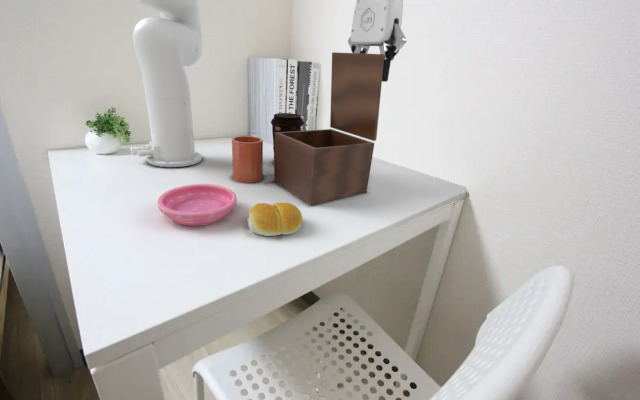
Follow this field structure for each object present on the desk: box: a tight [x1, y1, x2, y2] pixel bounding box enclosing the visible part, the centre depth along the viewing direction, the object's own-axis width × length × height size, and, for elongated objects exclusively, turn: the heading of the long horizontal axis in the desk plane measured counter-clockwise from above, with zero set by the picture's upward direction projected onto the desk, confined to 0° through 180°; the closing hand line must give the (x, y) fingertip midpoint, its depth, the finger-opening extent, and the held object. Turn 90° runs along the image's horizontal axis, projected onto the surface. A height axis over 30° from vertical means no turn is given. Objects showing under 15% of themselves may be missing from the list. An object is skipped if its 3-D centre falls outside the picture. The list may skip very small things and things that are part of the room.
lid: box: [329, 51, 384, 142], centre depth 67 cm, size 16×15×5 cm
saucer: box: [157, 183, 238, 227], centre depth 53 cm, size 12×12×3 cm
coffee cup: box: [270, 112, 305, 159], centre depth 81 cm, size 9×8×13 cm
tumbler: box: [231, 135, 264, 184], centre depth 69 cm, size 7×7×9 cm
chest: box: [273, 128, 375, 206], centre depth 67 cm, size 16×15×11 cm
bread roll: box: [246, 202, 304, 237], centre depth 51 cm, size 8×9×4 cm
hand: (369, 79), depth 67 cm, fingers closed on lid, 6 cm apart
